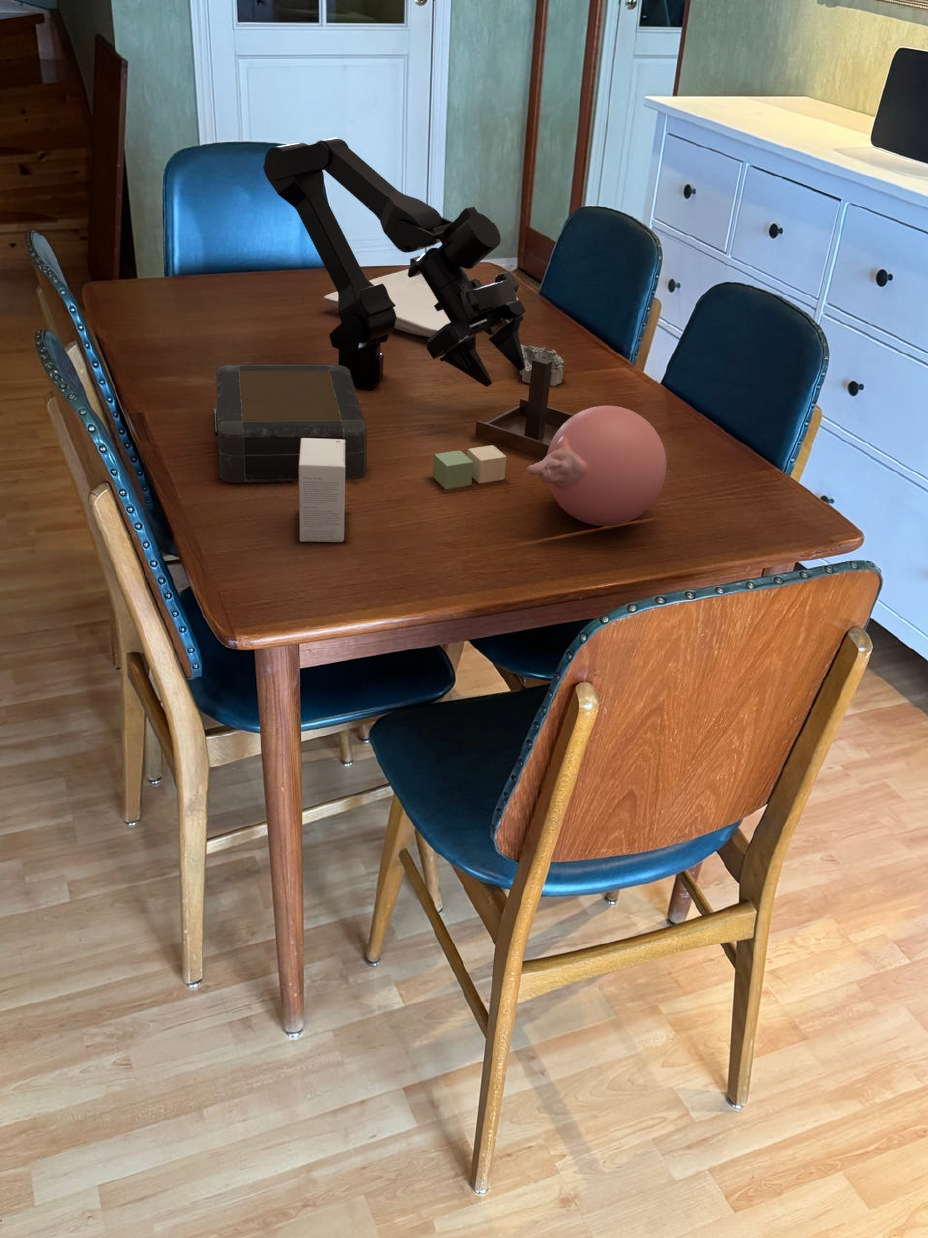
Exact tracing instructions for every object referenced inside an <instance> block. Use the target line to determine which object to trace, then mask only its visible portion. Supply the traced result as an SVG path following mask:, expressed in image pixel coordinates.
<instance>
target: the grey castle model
mask: <svg viewBox="0 0 928 1238" xmlns="http://www.w3.org/2000/svg"><path fill="white" fill-rule="evenodd" d="M520 345H521V349H522V353H523V357H524V362H525V366H526V367H525V368H524V369H523V370H522V371H519V374H520V376H521V380H522V382H523V383H526V384H529V385H530V377H531V367H532V360H533V359H535V358H537V357H541V358H544V359H547V360H551V361H552V369H551V378H550V386H552V387H555V386H557V385H560V384H562V382H563V377H564V369H563V368H564V367H565V360H564V359H563V358H562V357H561V356H559V355H558V354H557V351H556V350H555V349H553V348H552V349H551V350H547V348H546V346H545V347H544V346H543V347H539V346H533V345H529V346H527V345H524V344H521V343H520ZM550 386H549V387H550Z"/></svg>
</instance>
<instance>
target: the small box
mask: <svg viewBox="0 0 928 1238" xmlns="http://www.w3.org/2000/svg"><path fill="white" fill-rule="evenodd" d="M345 501H346V479H345V440H342V439H315V438H301V442H300V455H299V480H298V506H299V507H298V516H299V518H298V519H299V542H304V543H305V542H306V543H307V542H308V543H309V542H310V543H311V542H313V543H314V542H317V543H318V542H319V543H343V542H345V506H346V505H345V504H346V502H345Z"/></svg>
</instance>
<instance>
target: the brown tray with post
mask: <svg viewBox="0 0 928 1238" xmlns="http://www.w3.org/2000/svg"><path fill="white" fill-rule="evenodd" d="M551 369H552V361H551V360H547V359H544V358H541V357H537V358H535V359H533V360H532V367H531V377H530V384H529V388H528V397H527V399H526V398H523V397H521V398H519V405H517V406H516V407H513V408H512V409H510V410H507V411H506V412H504V413H501V414H499V415H498V416H496V417H493V419H490V420H489V421H486V422H485V421H482V420H479V419H478V420H476V422H475V432H474V433H475V434H474V437H475V438H476V439H480V440H482V441H485V442H488V443H491V444H493V445H497V446H500V447H503V448H504V449H505V448H506V449H508V450H511V451H514V452H517V453H520V454H524V455H526V456H529V457H532V458H534V459H537V460H540V461H543V459H544V458H545V457H546V456H547V453H548V449H549V446H550V444H551V441H552V439H553V438H554V436H555V434H556V433H557V431H558V430H559V429H560V427H561V426H562V425H563V424H564V423H565V422H566V421H567V420H569V419H570V418H571V417H572V416H574V415H575V414H573V413H571V412H567V411H564V410H560V409H557V408H554V407H551V406H548V402H549V395H550V378H551Z"/></svg>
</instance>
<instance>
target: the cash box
mask: <svg viewBox="0 0 928 1238" xmlns="http://www.w3.org/2000/svg"><path fill="white" fill-rule="evenodd" d="M215 381H216V384H215V385H216V386H215V387H216V404H215V407H216V408H214V409H212V419H213V421H212V422H213V434H214V435H215V436H216V437H217V447H218V463H219V464H218V465H219V476H220V478H221V479H222V480H223V482H227V483H232V484H234V483H235V484H239V483H240V484H241V483H242V484H243V483H247V484H248V483H283V482H286V483H288V482H290V483H291V482H297V481H299V455H300V442H301V438H315V439H342V440H345V480H358V479H362V478H364V477H365V476H366V473H367V459H368V457H367V456H368V455H367V454H368V428H367V425H366V422H365V417H364V415H363V411H362V408H361V405H360V401H359V397H358V394H357V390H356V387H354V384H353V380H352V377H351V374H350V370H349V369H348V368H346V367H345V366H342V365H339V364H225V365H222V366H219V368H217V369H216V373H215Z"/></svg>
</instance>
